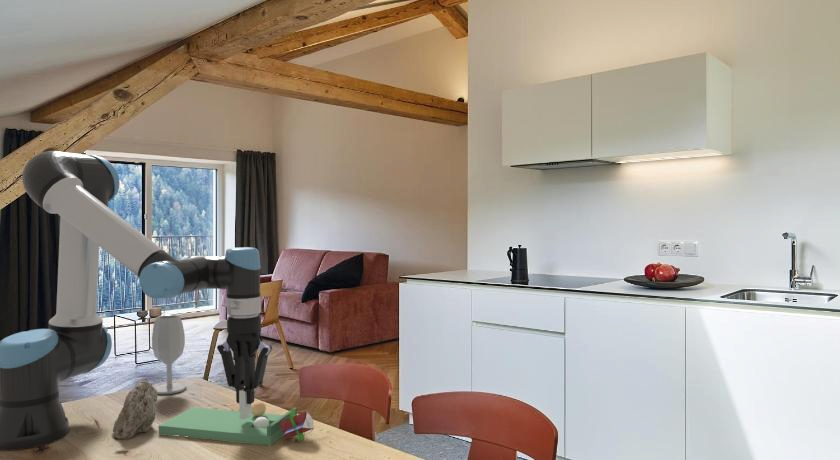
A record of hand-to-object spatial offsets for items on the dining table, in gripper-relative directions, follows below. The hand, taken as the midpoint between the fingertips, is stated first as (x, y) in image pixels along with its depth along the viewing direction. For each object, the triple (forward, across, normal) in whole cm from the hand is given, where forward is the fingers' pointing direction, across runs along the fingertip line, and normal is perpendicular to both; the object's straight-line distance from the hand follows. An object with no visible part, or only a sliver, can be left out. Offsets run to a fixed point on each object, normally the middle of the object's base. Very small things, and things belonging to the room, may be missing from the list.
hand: (245, 417), depth 142 cm
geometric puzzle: (+4, +14, -2) cm, 14 cm away
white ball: (+2, +4, 0) cm, 4 cm away
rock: (+4, -25, -5) cm, 26 cm away
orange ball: (0, +1, +4) cm, 5 cm away
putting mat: (+3, -4, 0) cm, 5 cm away
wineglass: (+4, -37, +23) cm, 44 cm away
